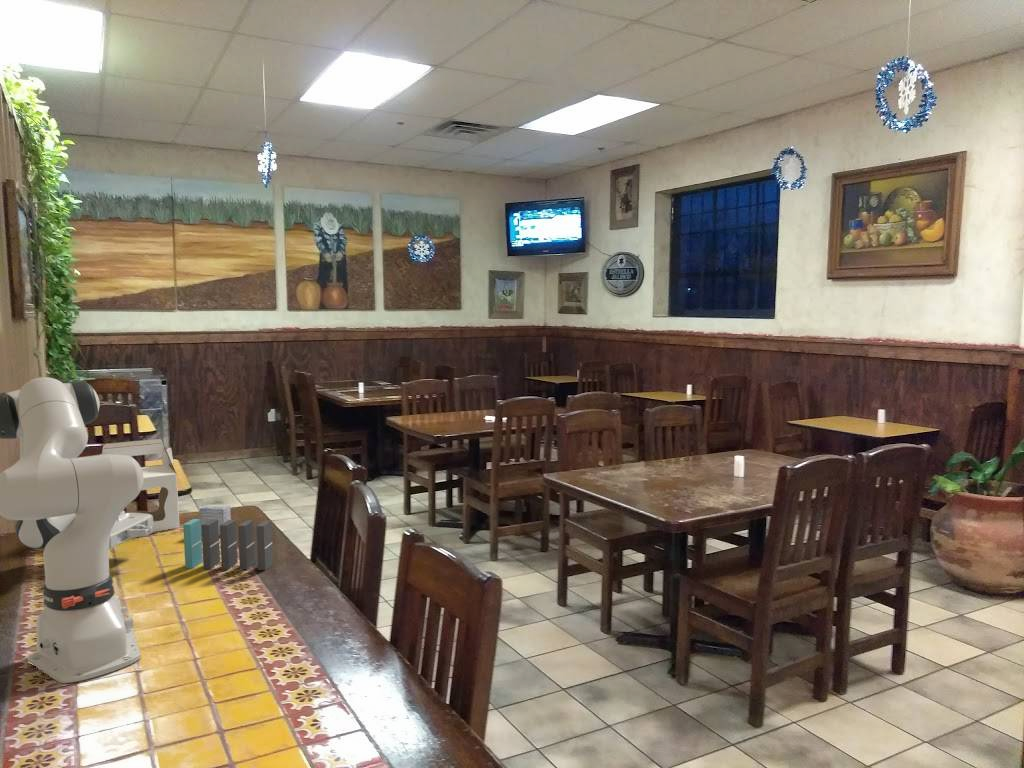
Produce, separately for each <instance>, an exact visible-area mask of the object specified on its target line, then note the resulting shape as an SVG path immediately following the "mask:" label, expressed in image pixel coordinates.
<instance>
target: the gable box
mask: <svg viewBox="0 0 1024 768" xmlns="http://www.w3.org/2000/svg"><path fill="white" fill-rule="evenodd" d="M103 454H115V455H129V456H131V457H137V456H144V455H145V456H146V455H158V454H160V455H161V458H162V464H157V465H155V464H154V465H147V466H140V467H141V469H142V472H143V478H144V480H143V486H142V489H141V491H147V490H150V489H151V490H152V489H154V488H155V489H156V488H160V490H159V493H158V497H157V501H158V509H156V510H155V511H154V510H153V511H146V510H135V511H130V512H129V513H144V514H150V515H152V516H153V527H152V529H153V532H152V533H157V532H162V531H163V530H164V531H169V530H168V529H170V530H175V529H180V513H179V511H180V510H179V497H178V496H179V494H178V491H179V490H178V479H177V478H178V476H177V475H178V473H177V472H176V469H175V468H174V465H173V464H174V458H173V451H172V447H170V446H169V447H167V448H166V447H165V446H164V443H163V440H162V439H161V438H153V439H152V438H151V439H150V438H149V439H144V440H143V439H142V440H131V441H122V442H121V441H120V442H119V441H118V442H111V443H110V442H109V443H104V444H103V445H102V450H101V453H100V454H99V455H103ZM95 455H96V454H94V455H93V456H95ZM156 531H157V532H156ZM164 531H163V532H164Z"/></svg>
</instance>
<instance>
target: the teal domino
mask: <svg viewBox="0 0 1024 768" xmlns="http://www.w3.org/2000/svg"><path fill="white" fill-rule="evenodd" d="M182 528H183V529H182V530H183V545H184V548H183V549H184V562H185V563H184V564H185V565H184V566H185V567H184V568H185V569H188V568H193V569H195V568H196V567H198V566H199V565H200V564H202V563H203V546H202V536H201V523H200V518H192V519H191V520H189V521H187V522H185V523H183V524H182ZM201 562H202V563H201ZM198 564H199V565H198ZM195 566H196V567H195Z"/></svg>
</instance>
